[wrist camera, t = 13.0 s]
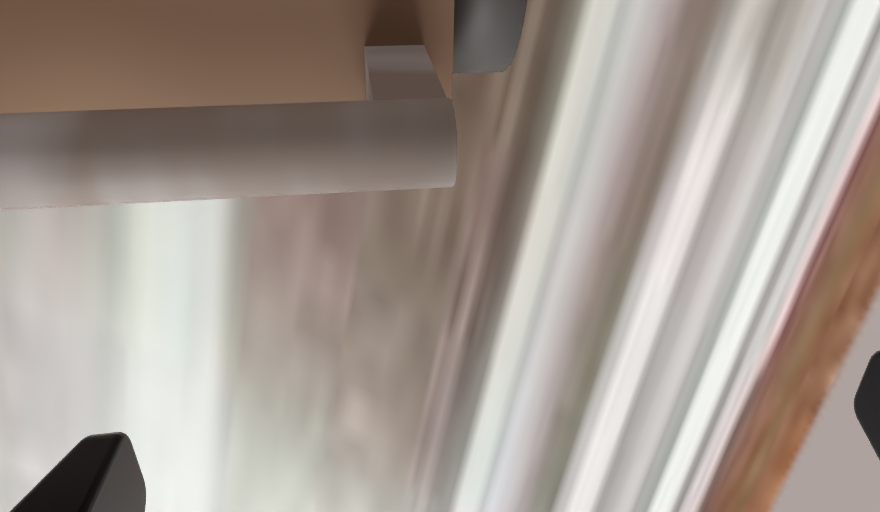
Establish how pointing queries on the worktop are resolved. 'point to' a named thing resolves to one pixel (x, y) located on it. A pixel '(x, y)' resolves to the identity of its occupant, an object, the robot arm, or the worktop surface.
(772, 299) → the worktop surface
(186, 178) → the trolley
